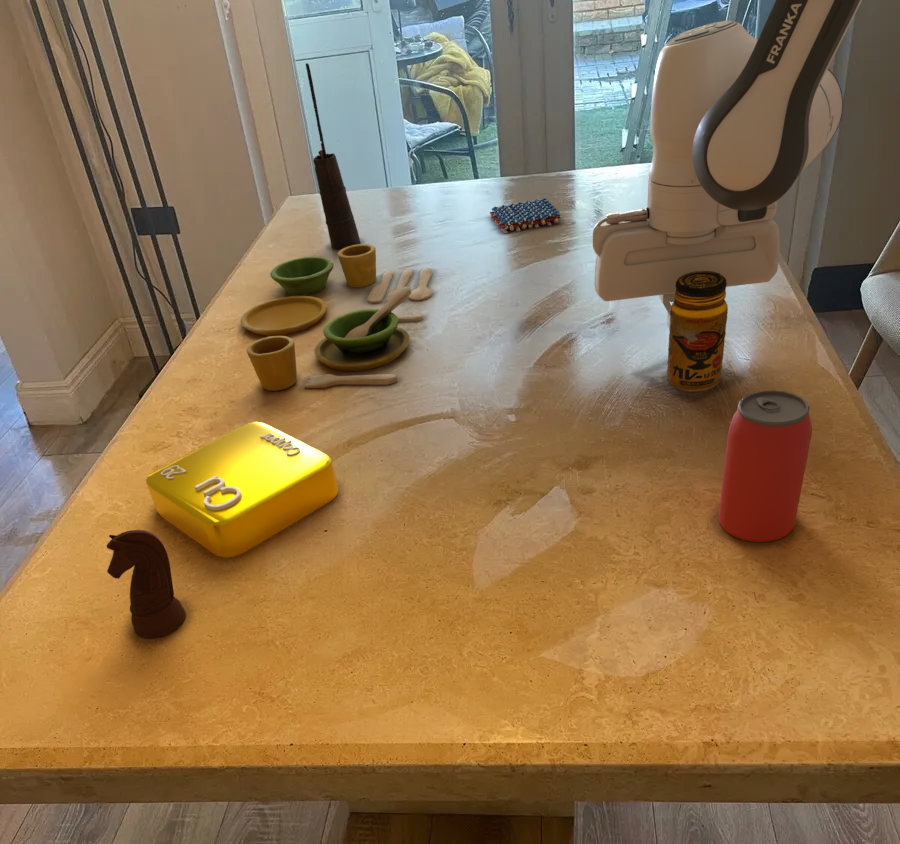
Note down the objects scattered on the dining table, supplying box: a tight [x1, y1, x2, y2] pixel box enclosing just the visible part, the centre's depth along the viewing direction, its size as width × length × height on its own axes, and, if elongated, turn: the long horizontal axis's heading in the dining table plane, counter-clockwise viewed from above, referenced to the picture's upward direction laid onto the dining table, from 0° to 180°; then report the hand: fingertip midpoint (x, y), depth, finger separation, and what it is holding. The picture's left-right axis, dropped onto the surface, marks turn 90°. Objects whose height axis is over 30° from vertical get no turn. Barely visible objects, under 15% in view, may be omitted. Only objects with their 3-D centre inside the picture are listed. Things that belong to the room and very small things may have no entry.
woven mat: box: [489, 197, 561, 234], centre depth 147 cm, size 10×11×2 cm
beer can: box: [718, 389, 813, 543], centre depth 73 cm, size 7×7×12 cm
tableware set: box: [240, 243, 433, 392], centre depth 120 cm, size 41×28×6 cm
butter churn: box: [305, 62, 361, 251], centre depth 141 cm, size 9×10×28 cm
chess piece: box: [106, 529, 187, 640], centre depth 73 cm, size 5×5×10 cm
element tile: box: [145, 421, 339, 559], centre depth 88 cm, size 15×15×5 cm
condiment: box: [666, 271, 729, 393], centre depth 95 cm, size 7×8×12 cm
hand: (680, 326), depth 101 cm, fingers closed
